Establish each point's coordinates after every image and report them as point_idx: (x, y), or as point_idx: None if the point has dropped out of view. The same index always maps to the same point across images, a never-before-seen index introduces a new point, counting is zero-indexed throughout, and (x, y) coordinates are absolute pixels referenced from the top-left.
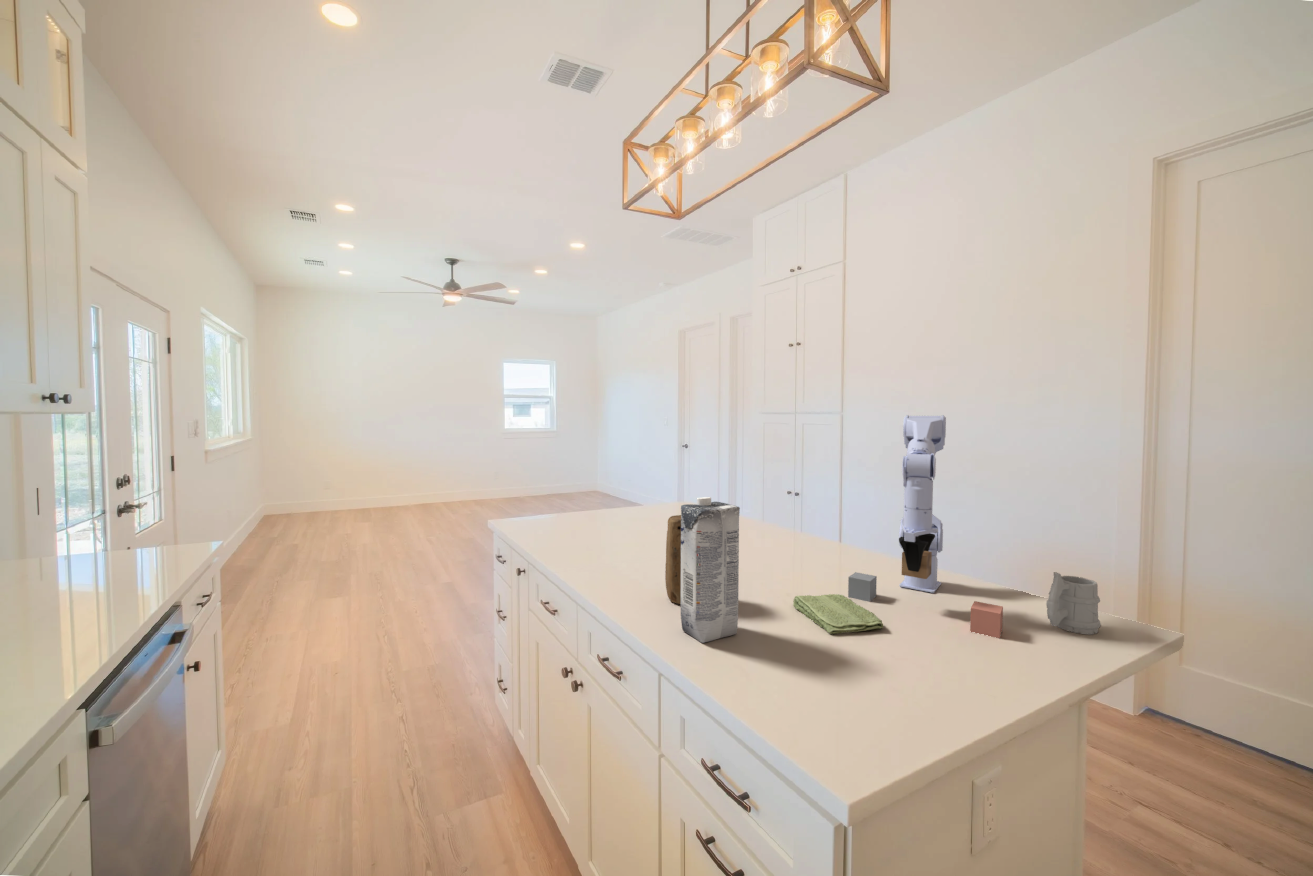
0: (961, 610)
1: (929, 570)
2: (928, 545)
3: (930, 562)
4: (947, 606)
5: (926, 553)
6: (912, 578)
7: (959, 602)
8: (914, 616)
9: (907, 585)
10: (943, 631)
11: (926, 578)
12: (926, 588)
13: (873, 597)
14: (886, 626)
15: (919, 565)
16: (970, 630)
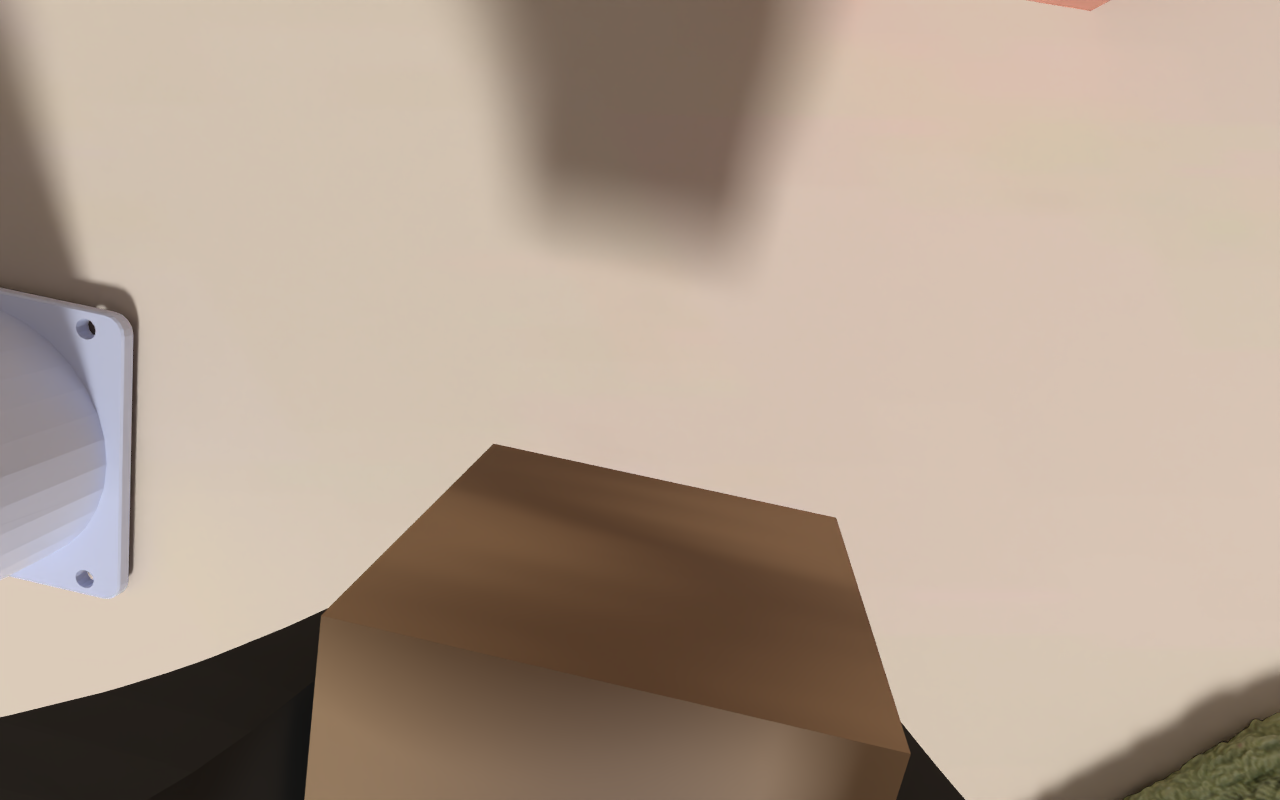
0: (485, 76)
1: (611, 502)
2: (200, 790)
3: (514, 539)
4: (436, 200)
5: (579, 740)
6: (34, 529)
7: (252, 90)
8: (864, 474)
9: (89, 536)
10: (1169, 245)
11: (816, 516)
12: (79, 381)
13: None
14: (1222, 678)
15: (914, 741)
16: (1098, 3)
